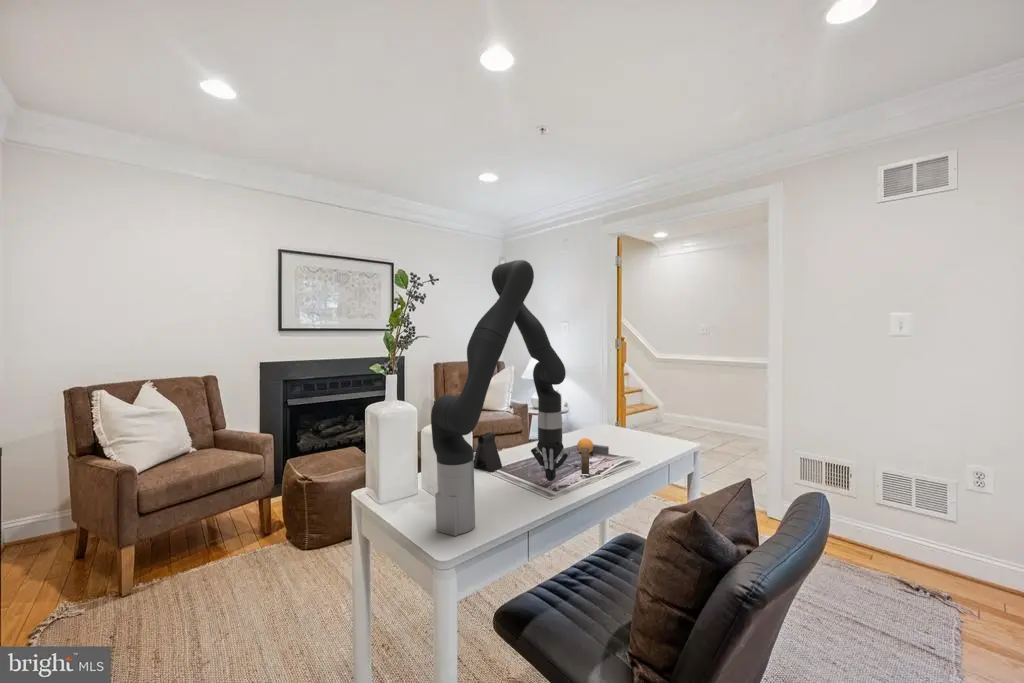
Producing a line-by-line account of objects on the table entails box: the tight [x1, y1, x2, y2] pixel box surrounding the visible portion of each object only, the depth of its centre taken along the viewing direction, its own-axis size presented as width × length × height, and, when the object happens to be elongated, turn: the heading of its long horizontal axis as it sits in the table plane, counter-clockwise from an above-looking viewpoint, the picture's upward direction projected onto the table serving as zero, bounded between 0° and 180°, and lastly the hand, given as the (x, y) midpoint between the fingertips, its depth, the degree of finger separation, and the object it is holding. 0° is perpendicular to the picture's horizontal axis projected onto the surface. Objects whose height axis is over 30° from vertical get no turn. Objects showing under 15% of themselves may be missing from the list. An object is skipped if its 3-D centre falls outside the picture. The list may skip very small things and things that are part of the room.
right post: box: [580, 448, 590, 475], centre depth 143 cm, size 3×3×9 cm
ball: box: [577, 437, 594, 454], centre depth 166 cm, size 6×6×6 cm
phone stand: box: [474, 432, 503, 473], centre depth 152 cm, size 9×6×12 cm, turn 55°
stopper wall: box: [576, 443, 609, 455], centre depth 169 cm, size 2×12×2 cm, turn 60°
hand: (550, 480), depth 135 cm, fingers closed
